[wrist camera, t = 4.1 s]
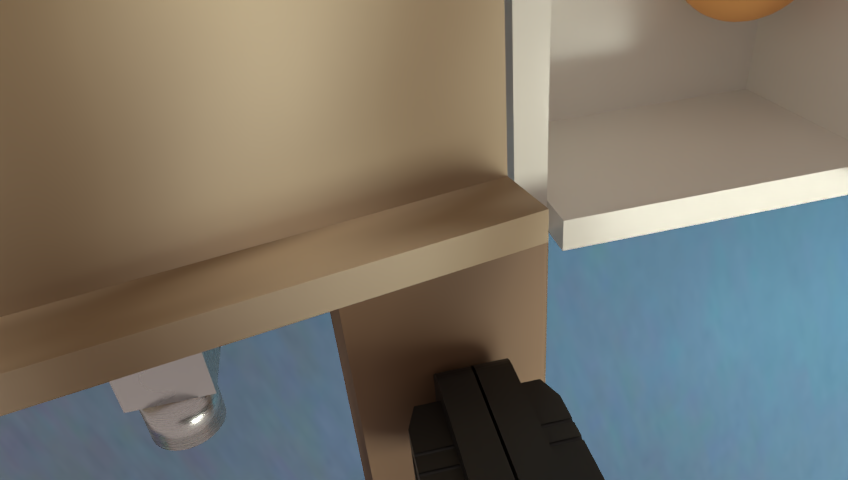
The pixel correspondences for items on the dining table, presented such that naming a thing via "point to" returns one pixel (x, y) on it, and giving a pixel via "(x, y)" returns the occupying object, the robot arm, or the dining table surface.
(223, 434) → the dining table surface
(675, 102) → the white open bin
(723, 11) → the ball
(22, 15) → the chute
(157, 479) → the dining table surface
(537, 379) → the robot arm
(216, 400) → the stand
